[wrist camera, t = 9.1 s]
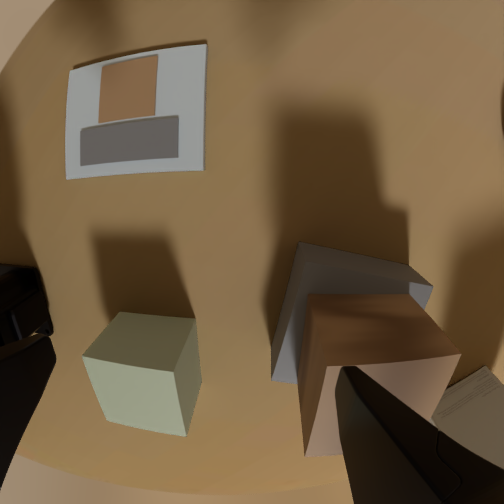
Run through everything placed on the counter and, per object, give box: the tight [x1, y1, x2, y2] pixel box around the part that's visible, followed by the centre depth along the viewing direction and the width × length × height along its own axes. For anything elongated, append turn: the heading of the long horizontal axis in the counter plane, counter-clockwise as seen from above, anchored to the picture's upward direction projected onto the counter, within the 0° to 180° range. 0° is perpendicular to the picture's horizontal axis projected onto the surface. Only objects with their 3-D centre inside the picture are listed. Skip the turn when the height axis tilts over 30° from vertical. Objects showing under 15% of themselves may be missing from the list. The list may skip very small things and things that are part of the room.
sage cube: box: [82, 312, 202, 437], centre depth 19 cm, size 6×6×6 cm
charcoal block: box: [271, 242, 433, 384], centre depth 18 cm, size 8×8×4 cm
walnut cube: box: [297, 294, 461, 457], centre depth 13 cm, size 6×6×6 cm
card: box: [65, 44, 208, 180], centre depth 16 cm, size 10×8×1 cm
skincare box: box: [429, 366, 504, 469], centre depth 15 cm, size 8×6×15 cm
